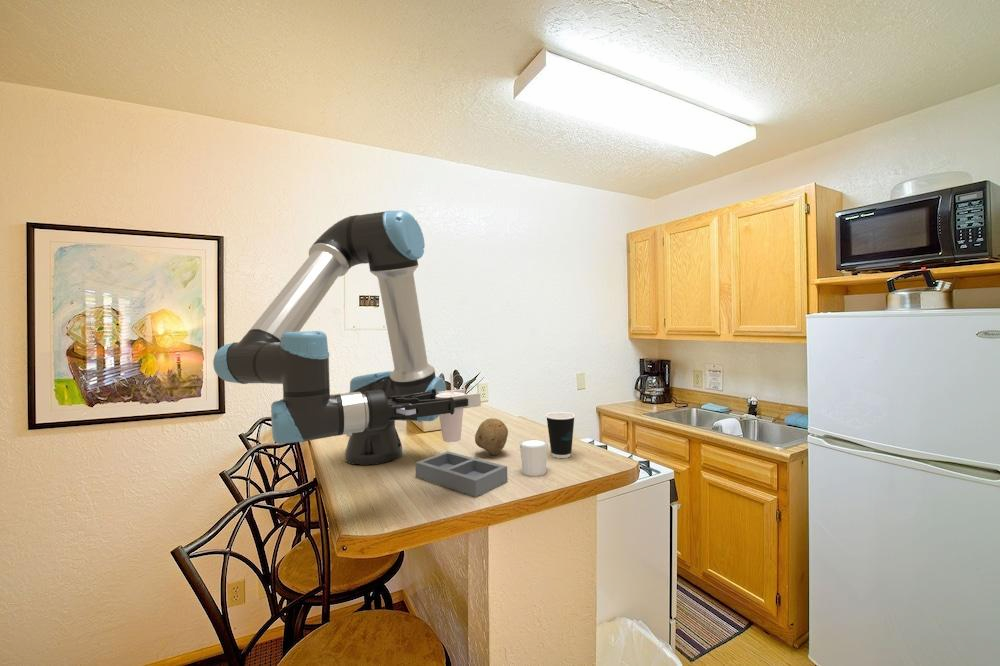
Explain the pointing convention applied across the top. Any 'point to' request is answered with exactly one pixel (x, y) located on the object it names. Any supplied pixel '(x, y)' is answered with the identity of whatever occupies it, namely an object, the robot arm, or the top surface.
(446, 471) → the divided tray
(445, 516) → the top surface
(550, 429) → the dixie cup
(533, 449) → the white rounded cylinder
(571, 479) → the top surface
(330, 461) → the top surface
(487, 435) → the potato
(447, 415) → the smoothie
